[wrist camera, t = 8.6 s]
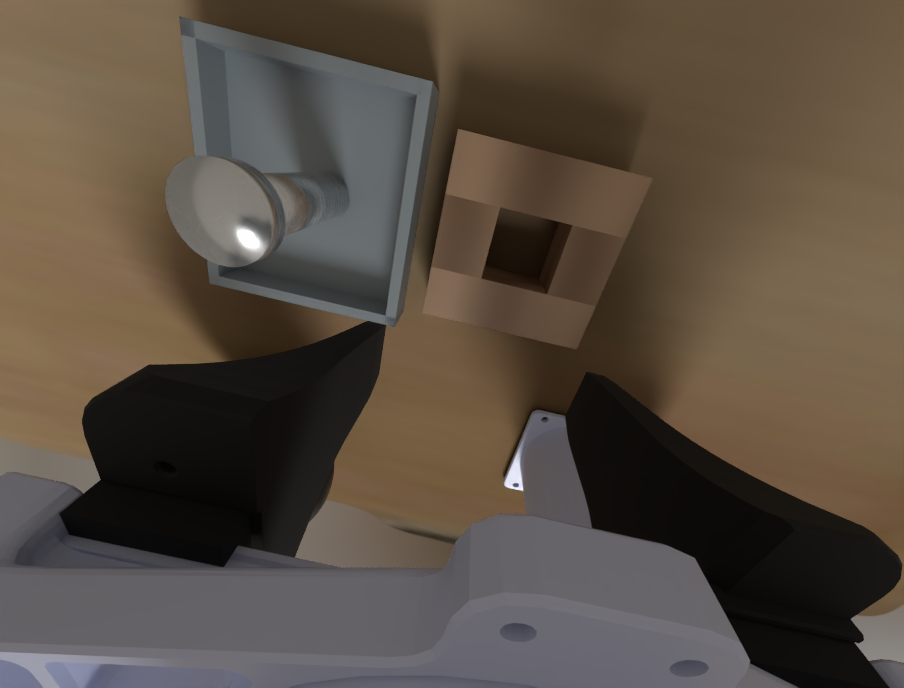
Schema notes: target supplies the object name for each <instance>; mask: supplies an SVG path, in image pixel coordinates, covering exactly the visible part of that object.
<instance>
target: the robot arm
mask: <svg viewBox="0 0 904 688" xmlns="http://www.w3.org/2000/svg"><path fill="white" fill-rule="evenodd" d="M385 329H386V325H384V324H380V323H376V322H371V321H367V322H364V323H362V324H360V325H357V326H355V327H353V328H351V329H348V330H346V331H344V332H341V333H339V334H337V335H335V336H332V337H329V338H327V339H324V340H321V341H319V342H316V343H313V344H310V345H307V346H304V347H301V348H298V349H294V350H290V351H286V352H282V353H278V354H273V355H267V356H261V357H256V358H250V359H244V360H235V361H227V362H215V363H201V364H168V365H148V366H146V367H144V368H143V369H141V370H139V371H138V372H136V373H134V374H133V375H131V376H129V377H127V378H126V379H124V380H122V381H121V382H119V383H117V384H116V385H114V386H112V387H110V388H109V389H107V390H105V391H104V392H102V393H100V394H99V395H97V396H95V397H94V398H92V399H91V401H90V402H89V403H88V404H87V405H86V407H85V409H84V414H83V418H82V425H83V430H84V435H85V438H86V441H87V444H88V446H89V449H90V452H91V455H92V457H93V460H94V463H95V465H96V468H97V471H98V473H99V476H100V479H101V480H100V481H99V482H97V483H96V484H95V485H94V486H93V487H91V488H90V489H89V490H88V491H86V492H85V493H84V494H83V493H82V492H81V491H80V490H78V489H77V488H75V487H74V486H72V485H69V484H67V483H64V482H59V481H54V480H49V479H45V478H40V477H36V476H31V475H26V474H22V473H17V472H7V473H5V474H4V475H2V476H0V688H904V663H901V662H897V661H892V660H883V659H880V660H872V661H868V660H867V658H866V657H865V656H864V654H863V653H862V652H861V651H860V649H859V648H858V647H857V646H856V644H855V643H854V642H857V643H860V642H862V641H863V640H864V638H863V634H862V633H861V632H860V631H859V629H858V628H857V627H856V626H855V625H854V623H853V622H852V621H851V618H852V617H854V616H855V615H857V614H858V613H860V612H861V611H863V610H864V609H866V608H867V607H869V606H870V605H872V604H873V603H875V602H876V601H878V600H879V599H881V598H882V597H884V596H885V595H886V594H887V593H889V592H890V591H891V590H892V589H893V588H894V587H895V586H896V584H897V583H898V581H899V580H900V578H901V571H902V563H901V561H900V559H899V557H898V555H897V554H896V553H895V552H894V551H893V550H892V549H890V548H889V547H888V546H887V545H886V544H885V543H884V542H883V541H882V540H881V539H880V538H879V537H878V536H877V535H875V534H874V533H873V532H871V531H870V530H868V529H867V528H865V527H863V526H861V525H859V524H856V523H854V522H852V521H849V520H847V519H845V518H842V517H840V516H837V515H835V514H833V513H830V512H828V511H826V510H823V509H821V508H819V507H816V506H814V505H811V504H809V503H807V502H804V501H802V500H800V499H798V498H796V497H794V496H792V495H790V494H787V493H785V492H783V491H781V490H779V489H777V488H775V487H773V486H771V485H769V484H767V483H765V482H763V481H761V480H759V479H757V478H755V477H753V476H751V475H749V474H747V473H746V472H744V471H742V470H740V469H738V468H736V467H735V466H733V465H731V464H729V463H727V462H726V461H724V460H722V459H720V458H719V457H717V456H715V455H714V454H712V453H710V452H709V451H707V450H706V449H704V448H702V447H701V446H699V445H698V444H696V443H695V442H693V441H691V440H690V439H688V438H687V437H685V436H684V435H682V434H681V433H680V432H678V431H677V430H675V429H674V428H673V427H671V426H670V425H668V424H667V423H666V422H664V421H663V420H662V419H660V418H659V417H658V416H656V415H655V414H654V413H652V412H651V411H650V410H649V409H647V408H646V407H645V406H643V405H642V404H641V403H640V402H638V401H637V400H636V399H635V398H633V397H632V396H631V395H630V394H628V393H627V392H626V391H624V390H623V389H622V388H621V387H619V386H618V385H617V384H615V383H614V382H612V381H611V380H609V379H608V378H606V377H604V376H602V375H597V374H593V373H589V372H586V374H585V376H584V379H583V381H582V383H581V385H580V387H579V389H578V391H577V393H576V395H575V397H574V399H573V401H572V404H571V406H570V408H569V410H568V412H567V414H566V416H563V415H559V414H555V413H550V412H546V411H542V410H535V411H533V412H532V413H531V415H530V418H529V420H528V422H527V425H526V427H525V430H524V432H523V434H522V437H521V439H520V442H519V444H518V446H517V449H516V451H515V454H514V456H513V458H512V461H511V463H510V466H509V468H508V470H507V473H506V475H505V478H504V485H505V486H506V487H508V488H513V489H517V490H522V491H523V494H524V502H525V510H526V515H525V514H498V515H495V516H492V517H489V518H486V519H483V520H480V521H477V522H475V523H473V524H471V525H470V526H469V528H468V529H467V530H466V531H465V532H464V533H463V534H462V535H461V537H460V538H459V539H458V540H457V541H456V543H455V546H454V548H453V551H452V554H451V557H450V560H449V562H448V563H447V565H446V567H445V568H341V567H336V566H332V565H327V564H322V563H317V562H313V561H308V560H303V559H298V558H295V555H296V553H297V550H298V548H299V545H300V542H301V540H302V537H303V535H304V532H305V530H306V527H307V525H308V522H309V520H310V518H311V515H312V513H313V510H314V508H315V505H316V503H317V500H318V498H319V496H320V493H321V491H322V489H323V486H324V484H325V481H326V479H327V477H328V475H329V472H330V470H331V468H332V465H333V463H334V461H335V459H336V456H337V454H338V452H339V450H340V448H341V446H342V444H343V443H344V441H345V439H346V437H347V436H348V434H349V432H350V431H351V429H352V427H353V425H354V424H355V422H356V420H357V418H358V417H359V415H360V413H361V411H362V410H363V408H364V406H365V404H366V403H367V401H368V399H369V397H370V395H371V393H372V390H373V388H374V385H375V383H376V380H377V378H378V375H379V370H380V363H381V356H382V349H383V342H384V336H385ZM543 417H547V419H542V418H543Z"/></svg>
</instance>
